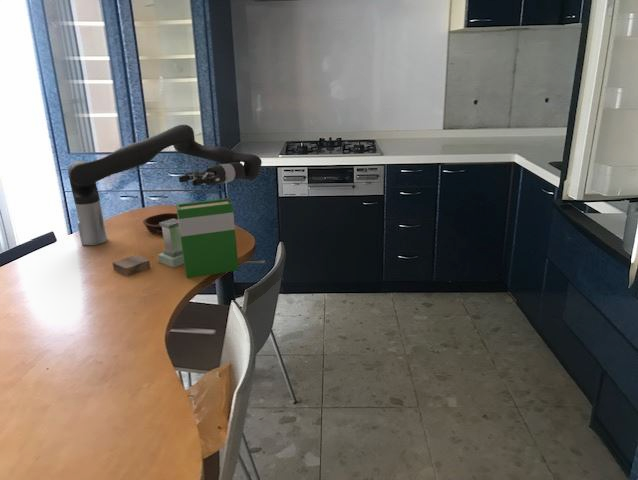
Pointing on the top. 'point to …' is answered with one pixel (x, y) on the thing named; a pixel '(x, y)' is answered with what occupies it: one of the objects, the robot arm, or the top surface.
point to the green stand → (171, 260)
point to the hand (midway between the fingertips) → (186, 181)
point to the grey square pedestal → (171, 237)
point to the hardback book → (208, 237)
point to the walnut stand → (131, 265)
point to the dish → (154, 221)
